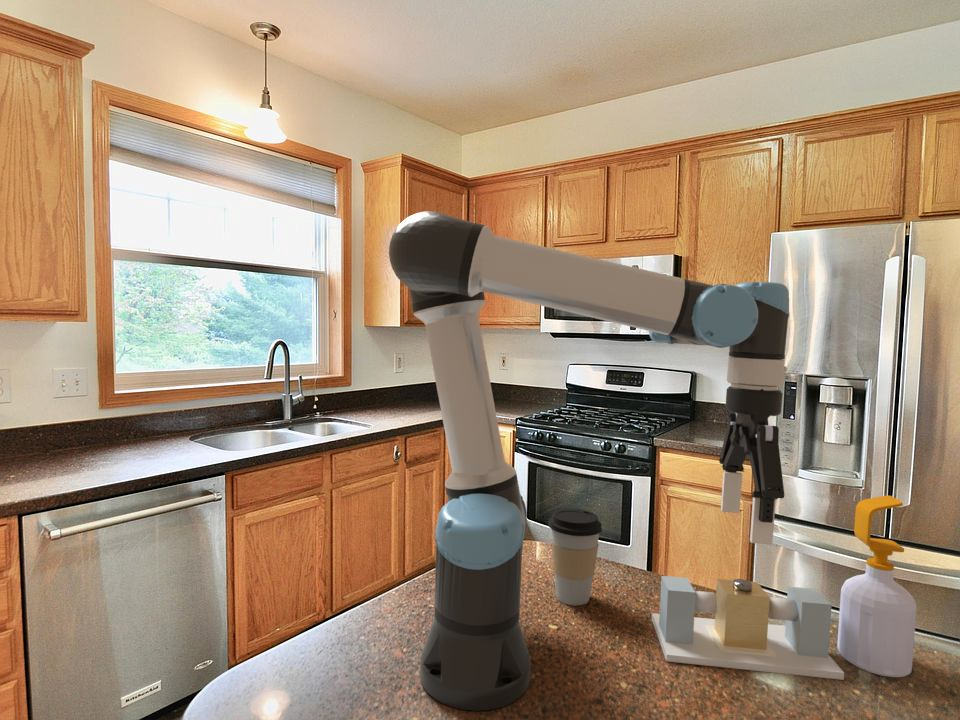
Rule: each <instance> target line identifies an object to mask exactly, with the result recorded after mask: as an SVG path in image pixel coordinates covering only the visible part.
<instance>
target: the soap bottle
mask: <svg viewBox="0 0 960 720" xmlns="http://www.w3.org/2000/svg"><path fill="white" fill-rule="evenodd" d="M903 505H904V503H903V501H901V500H900V499H898V498H896V497H895V496H892V495H881V496H877V497H876V496H875V497H871V498H867V499H862V500H860V501H859V502H858V503H857V504H856V506H855V514H854V527H853V528H854V529H853V532H854V536H855V537H856V538H857V539H858V540H859V541H860V542H862V543H863V544H865V546H868V548H869V551H870V552H872V553H873V557H869V558H867V559H866V564H865V573H863V574H857V575H855V576H852V577H850V578H848V579H846V580H845V581H844V582H843V585H842V586H841V589H840V599H839V612H838V613H839V616H838V628H837V630H838V632H837V642H836V643H837V644H836V645H837V647H836V648H837V650H838V652H839V654H840V656H841V657H843V658H844V659H845V660H846V661H847V662H849V663H850V664H852V665H853V666H855V667H857V668H858V669H862V670H863V671H866V672H868V673H871V674H875V675H878V676H882V677H889V678H904V677H906V676H909V675H910V674H911V673H912V669H913V660H914V659H913V658H914V646H915V645H914V644H915V631H916V620H917V619H916V618H917V608H918V607H917V604H916V600H915V598H914V597H913V595H911V593H910V592H909V591H908V590H907V589H906V588H905V587H904V586H902V585H901V584H900V583H898V582H896V580H894V574H895V573H894V572H895V565H894V563H892V562H890V561H889V560H888V559H889V558H888V556H893V553H894V552H896V553H904V552H905V548H904V547H903V546H901V545H900V544H898V543H897V542H896V541H893V540H890V539H884V538H875V537H874V538H873V537H871V531H872V530H871V528H872V519H873V515H874V514H875V513H876V512H879V511H883V510H888V509H893V508H899V507H902V506H903Z"/></svg>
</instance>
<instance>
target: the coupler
mask: <svg viewBox="0 0 960 720" xmlns="http://www.w3.org/2000/svg"><path fill="white" fill-rule="evenodd" d="M715 590H716V591H715V595H716V599H717V612H716V614H714V619H715V626H714V628H715V630H716V632H717V634H718V636H719V637H720V639H721V641H722V643H723V645H724V646H731V647H741V648H751V649H762V650H766V649H767V632H768V624H769V617H768V615H769V599H770V596H769V595H768V593H767V592H766V591H765V590H764V589H763V588H762V586H761V585H760V584H759V583H758V581H757V582H756V581H750V580H746V579H743V578H736V579H735V578H734V579H723V578H722V579H721V578H716V589H715Z"/></svg>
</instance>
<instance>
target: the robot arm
mask: <svg viewBox="0 0 960 720" xmlns="http://www.w3.org/2000/svg"><path fill="white" fill-rule="evenodd" d="M388 257H389V259H388V260H389V262H390V265H391V269H392V271H393V272H394V275H395V276H396V278H397V279H398V280H399V281H400V282H401V283H402V284H403V286H406V287H407V288H408V293H409V298H410V303H411V307H412V308H411V309H412V313H413V316H414V317H416V318H417V319H418V320H419V321H421V322H422V323H423V324H424V326H425V330H426V331H425V332H426V336H427V341H428V348H429V352H430V358H431V362H432V363H431V364H432V370H433V374H434V380H435V385H436V391H437V396H438V402H439V406H440V412H441V418H442V424H443V428H444V433H445V440H446V445H447V450H448V457H449V463H450V467H451V473H450V474H449V476H448V477H447V479H446V480H445V482H444V487H445V493H446V494H445V495H446V499H447V502H446V503H445V504H444V505H443V506H442V507H441V509H440V511H439V512H438V515H437V522H436V524H435V525H436V526H435V530H434V536H435V537H434V538H435V543H436V544H435V575H434V576H435V579H434V580H435V581H434V583H435V585H434V613H433V614H434V615H433V616H434V617H433V620H432V624H431V626H430V629H429V631H428V635H427V637H426V641H425V643H424V646H423V649H422V650H421V651H422V652H421V654H420V655H421V656H420V659H419V679H420V682H421V685H422V687H423V688H424V690H425V691H426V692H427V694H428V695H430V697H432V698H433V699H435V700H436V701H438V702H440V703H441V704H444V705H446V706H448V707H451V708H455V709H458V710H459V709H460V710H465V711H488V710H489V711H490V710H495V709H498V708H502V707H505V706H508V705H510V704H512V703H514V702H515V701H516V700H518V699H520V698H521V697H522V696H523V695H524V694H525V692H526V691H527V690H528V688H529V685H530V683H531V668H532V667H531V658H530V653H529V649H528V645H527V643H526V640H525V635H524V632H523V629H522V625H521V621H520V609H521V586H522V585H521V584H522V583H521V582H522V561H523V548H524V539H525V531H526V527H527V520H528V517H527V516H528V514H527V507H526V503H525V500H524V497H523V496H522V494H521V491H520V486H519V481H518V476H517V471H516V468H515V467H513V466H512V465H511V464H509V463H508V462H507V461H506V460H505V457H504V456H505V455H504V450H503V445H502V439H501V435H500V429H499V422H498V418H497V417H498V416H497V412H496V406H495V401H494V396H493V395H494V394H493V391H492V384H491V379H490V373H489V367H488V364H487V363H488V362H487V357H486V352H485V346H484V340H483V334H482V329H481V324H480V319H479V314H480V312H481V310H482V309H483V307H484V305H485V304H486V298H485V297H486V296H485V293H486V294H492V295H495V296H500V297H504V298H509V299H511V300H515V301H521V302H525V303H528V304H529V303H530V304H533V305H537V306H542V307H546V308H550V309H555V310H559V311H563V312H566V313H572V314H575V315H580V316H585V317H588V318H593V319H597V320H600V321H606V322H609V323H614V324H619V325H622V326H627V327H631V328H634V329H640V330H643V331H648V335H649V338H650V339H651V340H652V341H653V342H654V343H662V344H663V343H664V344H669V345H674V344H675V345H676V344H678V345H679V344H680V345H694V346H709V347H710V346H711V347H714V348H720V349H724V348H729V349H728V350H729V352H728V361H727V371H726V372H727V373H726V375H727V376H726V382H727V383H728V384H730V386H728V387H727V388H726V394H725V395H726V396H725V409H726V410H727V411H728V412H729V414H728V419H727V420H728V421H727V428H726V432H725V436H724V439H723V442H722V448H721V451H720V456H719V459H718V461H719V464H720V465H722V466H721V467H722V471H723V474H722V488H721V501H720V502H721V503H720V512H722V513H733V514H740V513H741V512H740V510H741V499H742V498H741V497H742V496H741V495H742V481H743V473H744V472H745V468H744V462H745V460H746V459H747V458H746V457H747V456H748V458H749V462H750V467H751V472H752V473H751V474H752V477H753V483H754V488H755V491H753V492H752V493H751V494H750V496H751V498H752V504H751V505H752V507H751V508H752V509H751V521H750V531H749V532H750V533H749V534H750V535H749V542H750V543H752V544H759V545H771V546H773V539H774V530H775V528H774V527H775V526H774V525H775V513H776V500H779V499H784V498H785V488H784V478H783V471H782V461H781V454H780V453H781V452H780V446H779V438H780V437H779V433H780V429H779V426H777V425H769V418H770V417H777V416H779V415H781V413H782V404H783V392H782V391H781V390H780V389H778V388H780V387H782V386H783V385H784V373H786V372H787V371H788V367H787V366H786V365H785V358H786V355H785V354H786V348H787V347H786V345H787V335H788V326H789V325H788V324H789V318H790V296H789V295H790V293H789V289H788V287H787V286H786V285H785V284H783V283H780V282H770V281H769V282H767V281H761V282H760V281H759V282H757V281H756V282H755V281H751V282H750V281H747V282H746V281H745V282H740V283H737V284H735V285H733V284H727V283H721V284H719V283H718V284H714V285H712V284H707V283H704V282H699V281H696V280H690V279H684V278H683V277H678V276H673V275H669V274H665V273H662V272H661V273H660V272H656V271H651V270H647V269H643V268H639V267H634V266H630V265H626V264H621V263H616V262H612V261H608V260H603V259H599V258H595V257H591V256H586V255H581V254H577V253H572V252H568V251H563V250H559V249H556V248H550V247H545V246H541V245H538V244H532V243H529V242H525V241H519V240H515V239H511V238H507V237H503V236H498V235H495V234H494V233H493V232H492V230H491V229H490V227H489V225H486V224H481V223H476V222H472V221H468V220H466V219H462V218H459V217H455V216H453V215H450V214H449V215H448V214H446V213H443V212H440V211H433V210H429V211H426V210H425V211H420V212H417V213H414V214H411V215H409V216H408V217H406V218H405V219H404V220H402V222H400V223H399V224H398V225H397V227H396V228H395V229H394V232H393V233H392V235H391V238H390V241H389V245H388Z"/></svg>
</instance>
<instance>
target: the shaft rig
mask: <svg viewBox="0 0 960 720" xmlns="http://www.w3.org/2000/svg"><path fill="white" fill-rule="evenodd" d="M660 583H661V584H660V597H659V598H660V599H659V613H654V612H652V613H651V621H652V623H653V626H654V629H655V633H656V636H657V638H658V640H659V641H658V642H659V644H660V646H661V650H662V653H663V655H664V656H663V657H664V658H665V659H664V660H665V661H666V662H669V663H678V664H690V665H698V666H708V667H716V668H717V667H718V668H728V669H736V670H744V671H745V670H748V671H754V672H755V671H756V672H764V673H765V672H766V673H773V674H784V675H792V676H804V677H805V676H806V677H814V678H824V679H831V680H842V681H843V680H845V672H844V671H843V670H842V668H841V667H840V666H839V665H838V664H837V662H836V661H835V660H834V659H833V658H832V657H831V656H830V654H829V650H830V649H829V647H830V633H831V619H832V604H831V603H830V601H828V600H827V599H826V598H825V597H824V596H823V595H822V593H820V592H819V591H818V590H817V589H816V588H811V587H810V588H809V587H798V586H797V587H796V586H787V593H786V594H787V597H786V598H781V597H770V596H769V597H770V599H769V615H768V619H770V620H779V621H785V625H780V624H769V623H768V632H767V649H766V650H762V649H751V648H741V647H731V646H724V645H723V643H722V641H721V639H720V637H719V636H718V634H717V632H716V630H715V628H714V626H715V618H706V617H695V613H701V614H702V613H703V614H704V613H705V614H713V615H715V614H716V612H717V599H716V592H713V591H703V590H702V591H699V590H695V588H694V587H693V585H692V584H691V582H690V580H689V578H688V577H679V576H678V577H677V576H667V575H661V579H660Z"/></svg>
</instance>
